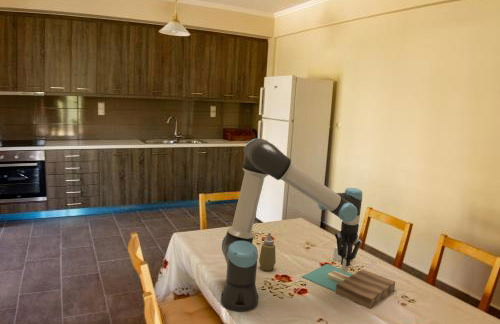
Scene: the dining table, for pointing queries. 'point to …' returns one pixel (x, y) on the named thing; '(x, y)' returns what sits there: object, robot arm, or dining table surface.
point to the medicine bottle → (336, 256)
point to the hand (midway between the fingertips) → (344, 271)
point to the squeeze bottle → (267, 254)
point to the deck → (365, 288)
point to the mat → (324, 276)
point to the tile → (337, 276)
